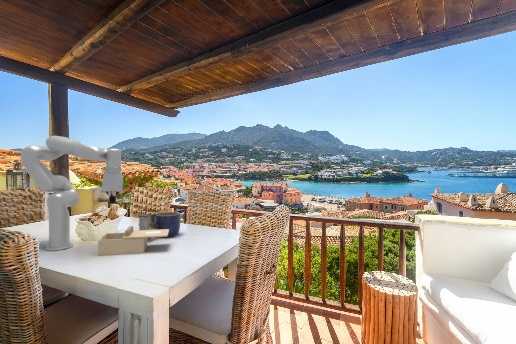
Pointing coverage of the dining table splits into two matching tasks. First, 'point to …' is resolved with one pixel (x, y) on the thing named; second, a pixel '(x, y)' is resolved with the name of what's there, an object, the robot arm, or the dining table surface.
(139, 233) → the lid
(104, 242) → the box
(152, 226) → the coffee box
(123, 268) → the dining table surface
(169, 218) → the planter
